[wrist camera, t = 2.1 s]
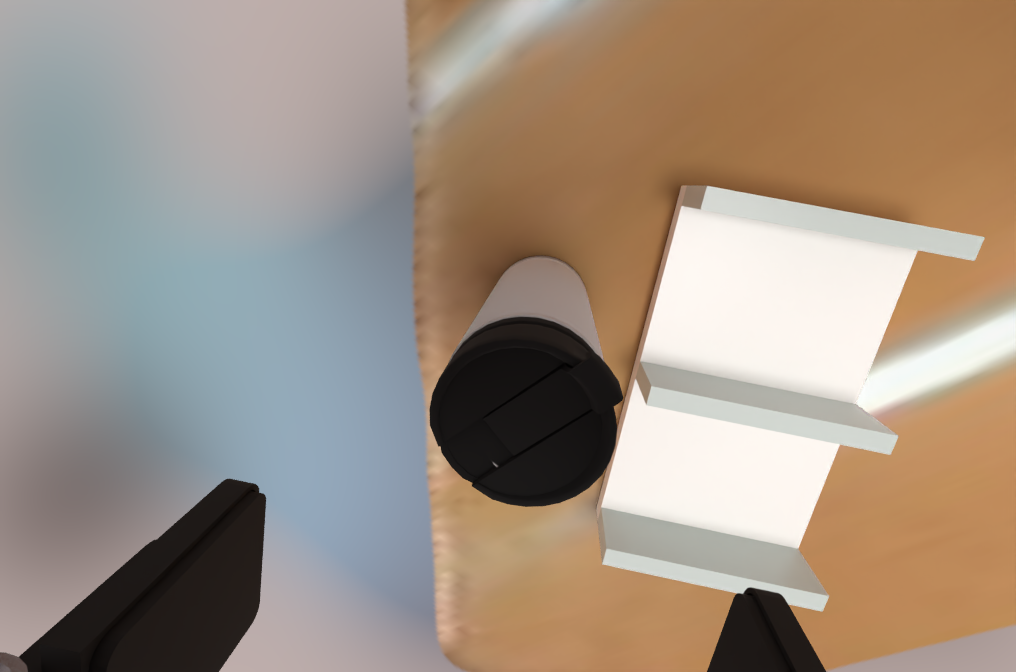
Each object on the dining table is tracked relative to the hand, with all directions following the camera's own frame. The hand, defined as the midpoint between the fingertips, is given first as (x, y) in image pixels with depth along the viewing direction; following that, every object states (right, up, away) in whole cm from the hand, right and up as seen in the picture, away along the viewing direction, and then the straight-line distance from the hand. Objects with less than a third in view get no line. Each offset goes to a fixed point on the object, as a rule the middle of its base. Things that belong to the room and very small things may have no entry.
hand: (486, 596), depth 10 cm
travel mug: (+3, +8, +26) cm, 27 cm away
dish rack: (+16, +2, +26) cm, 30 cm away
